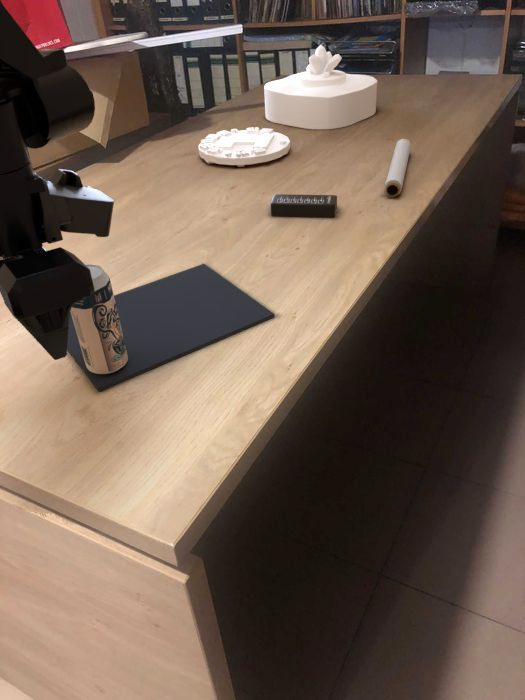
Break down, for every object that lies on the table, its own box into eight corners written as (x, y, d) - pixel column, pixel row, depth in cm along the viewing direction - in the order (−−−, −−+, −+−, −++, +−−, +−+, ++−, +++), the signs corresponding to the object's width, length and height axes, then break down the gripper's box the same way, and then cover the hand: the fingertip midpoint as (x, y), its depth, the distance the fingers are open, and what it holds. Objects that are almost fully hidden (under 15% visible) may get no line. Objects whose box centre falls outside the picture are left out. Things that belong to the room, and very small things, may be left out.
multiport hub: (275, 206, 106) (274, 193, 104) (337, 207, 104) (337, 194, 102) (270, 216, 102) (270, 203, 101) (334, 218, 100) (335, 204, 99)
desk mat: (98, 391, 66) (97, 388, 66) (46, 322, 78) (45, 319, 78) (274, 317, 76) (274, 313, 76) (204, 266, 89) (204, 263, 88)
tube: (400, 199, 105) (410, 153, 125) (402, 182, 103) (411, 138, 123) (383, 198, 106) (395, 153, 125) (384, 181, 104) (396, 138, 123)
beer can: (123, 376, 67) (101, 283, 60) (82, 378, 67) (54, 285, 60) (132, 351, 71) (112, 261, 64) (93, 352, 71) (68, 263, 64)
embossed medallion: (258, 174, 119) (257, 159, 118) (181, 161, 128) (179, 148, 127) (305, 145, 133) (305, 131, 131) (232, 136, 142) (231, 123, 140)
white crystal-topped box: (388, 108, 154) (393, 39, 144) (330, 133, 139) (331, 58, 130) (312, 97, 168) (311, 33, 158) (252, 118, 153) (247, 49, 144)
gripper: (139, 172, 43) (168, 349, 52) (54, 124, 56) (89, 273, 65) (-20, 210, 38) (42, 398, 47) (-73, 148, 51) (-17, 305, 60)
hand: (43, 334), depth 55 cm, fingers open, 9 cm apart
